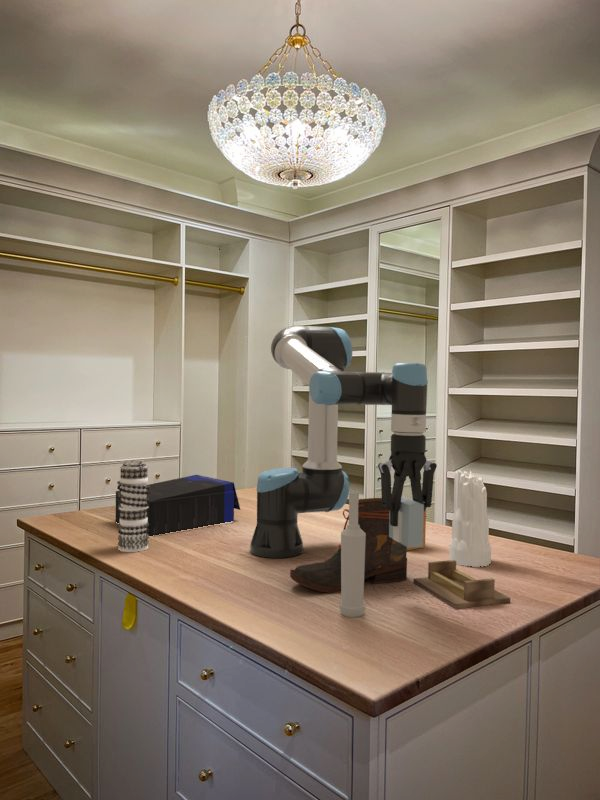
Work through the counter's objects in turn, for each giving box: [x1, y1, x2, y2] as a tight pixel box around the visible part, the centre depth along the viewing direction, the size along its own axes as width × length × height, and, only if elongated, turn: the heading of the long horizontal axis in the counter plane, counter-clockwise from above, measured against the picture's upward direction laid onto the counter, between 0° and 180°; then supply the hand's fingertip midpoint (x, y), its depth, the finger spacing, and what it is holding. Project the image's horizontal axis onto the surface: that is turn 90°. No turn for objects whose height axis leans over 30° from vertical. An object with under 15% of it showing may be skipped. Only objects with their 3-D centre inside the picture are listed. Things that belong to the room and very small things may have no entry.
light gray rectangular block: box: [389, 496, 424, 548], centre depth 131 cm, size 4×9×9 cm, turn 18°
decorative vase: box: [448, 469, 492, 568], centre depth 162 cm, size 11×11×25 cm
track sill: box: [412, 559, 511, 610], centre depth 137 cm, size 14×18×5 cm
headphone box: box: [115, 474, 241, 537], centre depth 206 cm, size 25×35×14 cm
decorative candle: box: [117, 460, 150, 553], centre depth 171 cm, size 9×9×25 cm
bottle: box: [339, 491, 366, 618], centre depth 123 cm, size 5×5×25 cm
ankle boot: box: [289, 497, 408, 594], centre depth 143 cm, size 11×31×20 cm, turn 113°
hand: (405, 539), depth 131 cm, fingers closed on light gray rectangular block, 3 cm apart
